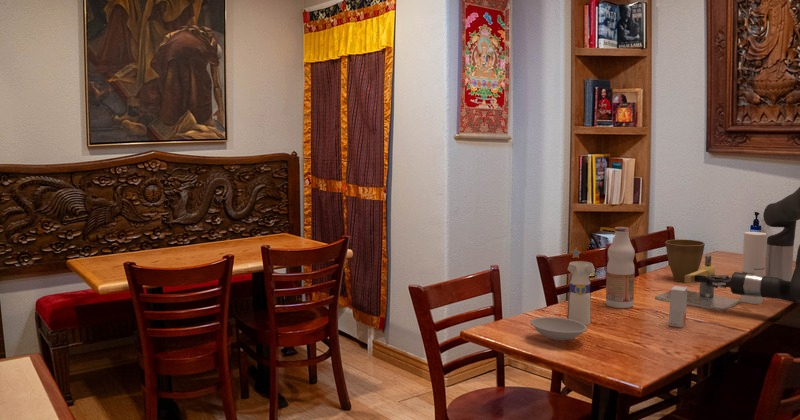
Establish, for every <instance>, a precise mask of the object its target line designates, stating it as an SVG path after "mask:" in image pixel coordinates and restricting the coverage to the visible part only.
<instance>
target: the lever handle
mask: <svg viewBox="0 0 800 420" xmlns="http://www.w3.org/2000/svg"><path fill="white" fill-rule="evenodd" d="M695 275H703V276H708V275H710V276H711V275H716V266H715V265H712V264H711V266H706V265H705V264H700V269H698V271H696V272H694V273H691V274H687V275H685V282H684V283H687V284H693V283H695V282H696V281H695Z"/></svg>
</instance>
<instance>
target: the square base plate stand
mask: <svg viewBox="0 0 800 420" xmlns="http://www.w3.org/2000/svg"><path fill="white" fill-rule="evenodd" d="M704 260H705V261H704V265H706V266H711V265H712V255H707V254H706V255H705V256H704ZM714 292H715V287H712V286H709V285H706V283H703V282H699V290H698V292H696V291H692V290H691V291H690V290H687V306H690V307H695V308H702V309H707V310H711V311H717V312H724V311H726V310H727V309H730V308H732V307H734V306H736V305H739V304H741V302H742V301H741V299H738V298H732V297H727V296H720V295H715V294H714ZM670 293H671V290H669V291H666V292H663V293H661V294H658V295H655V296H654V300H657V301H658V300H659V301H663V302H668V303H670Z"/></svg>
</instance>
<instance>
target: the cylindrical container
mask: <svg viewBox="0 0 800 420" xmlns="http://www.w3.org/2000/svg"><path fill="white" fill-rule="evenodd" d="M767 237H768V236H767V233H766V232H759V231H744V234H743V249H742V264H741V265H742V267H741V273H749V274H757V275H761V276H765V266H766V249H767ZM763 299H764V297H752V296H745V295H740V300H741V302H742V303H745V304H751V305H753V304H754V305H759V304H760V305H761V304H763V302H764V300H763Z"/></svg>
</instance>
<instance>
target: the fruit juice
mask: <svg viewBox="0 0 800 420" xmlns="http://www.w3.org/2000/svg"><path fill="white" fill-rule="evenodd" d="M614 233H615V234H614V237H613V240H612V242H611V244H610V245H609V247H608V249H607V257H608V262H607V265H606V281H605V286H606V288H605V305H607V306H608V307H610V308H614V309H615V308H617V309H630V308H632V307H633V306H634V301H635V300H634V295H635V273H636V271H635V269H636V268H635V267H636V266H635V264H634V259H635V254H636V252H635V248H634V247H633V244H632V242H631V239H630V236H629V233H630V228H629V227H626V226H615V227H614Z"/></svg>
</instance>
